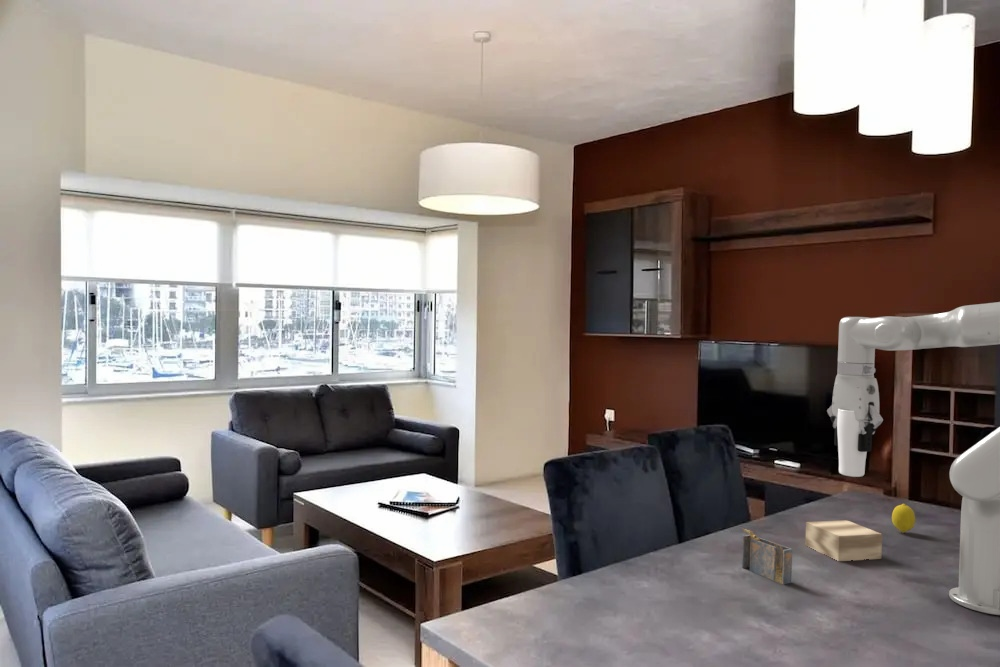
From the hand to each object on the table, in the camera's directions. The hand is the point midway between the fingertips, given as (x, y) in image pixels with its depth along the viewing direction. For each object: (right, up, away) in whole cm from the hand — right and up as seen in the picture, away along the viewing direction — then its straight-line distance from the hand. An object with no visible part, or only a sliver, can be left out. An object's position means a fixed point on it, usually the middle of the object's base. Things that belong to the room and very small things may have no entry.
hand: (852, 447), depth 161 cm
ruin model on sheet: (-22, -28, -5) cm, 36 cm away
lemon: (+29, -28, +30) cm, 51 cm away
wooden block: (+4, -28, +12) cm, 31 cm away
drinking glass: (0, -6, 0) cm, 6 cm away
